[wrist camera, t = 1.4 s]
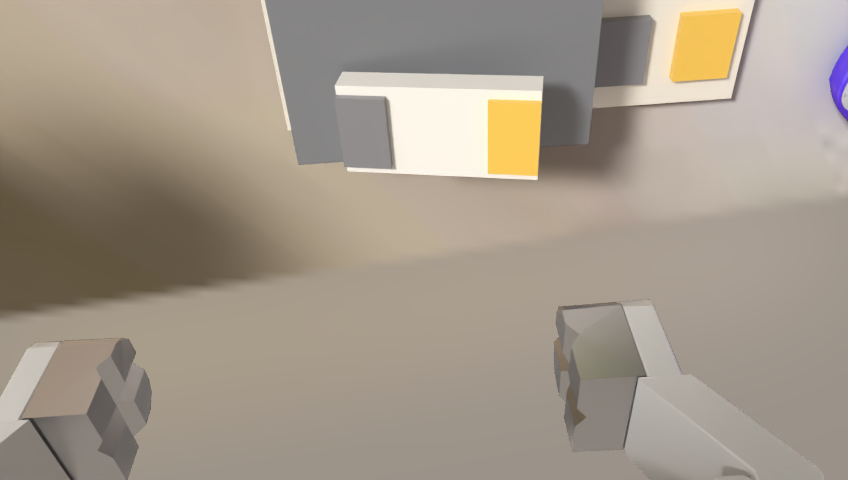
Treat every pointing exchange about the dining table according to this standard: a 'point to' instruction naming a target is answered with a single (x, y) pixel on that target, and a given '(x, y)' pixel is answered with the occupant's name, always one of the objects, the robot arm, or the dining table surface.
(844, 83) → the bottle
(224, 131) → the dining table surface
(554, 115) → the switch unit
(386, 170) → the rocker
